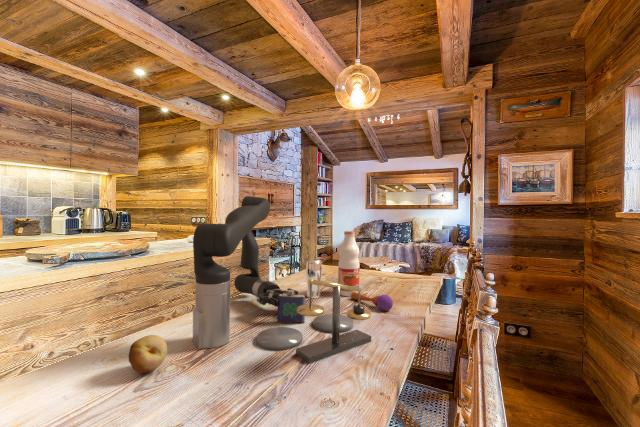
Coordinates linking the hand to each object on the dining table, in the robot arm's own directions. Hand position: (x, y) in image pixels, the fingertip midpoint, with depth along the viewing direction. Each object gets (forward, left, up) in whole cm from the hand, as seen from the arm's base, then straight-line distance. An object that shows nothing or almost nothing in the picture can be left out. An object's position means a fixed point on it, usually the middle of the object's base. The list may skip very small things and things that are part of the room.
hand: (288, 301), depth 104 cm
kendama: (+36, -4, -7) cm, 37 cm away
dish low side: (+10, -12, -7) cm, 17 cm away
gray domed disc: (-10, -12, -7) cm, 17 cm away
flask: (0, -2, -7) cm, 7 cm away
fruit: (-43, -9, -7) cm, 44 cm away
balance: (0, -25, -7) cm, 25 cm away
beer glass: (+24, +18, -7) cm, 31 cm away
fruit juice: (+39, +12, -7) cm, 42 cm away
